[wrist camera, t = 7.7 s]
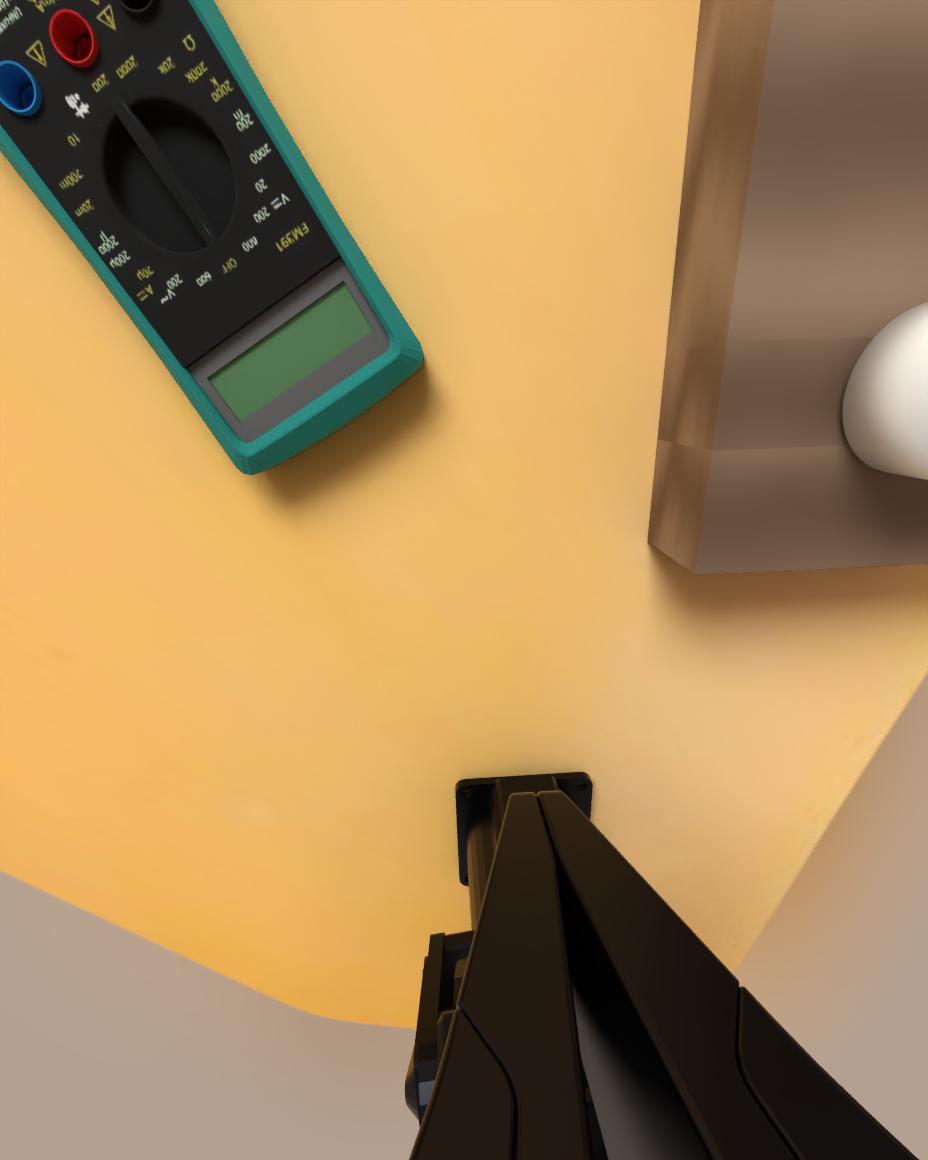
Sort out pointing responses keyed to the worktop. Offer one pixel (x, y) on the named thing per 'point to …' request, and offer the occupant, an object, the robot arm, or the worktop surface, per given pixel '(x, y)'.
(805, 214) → the brown wooden board
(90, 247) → the digital multimeter
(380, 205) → the worktop surface
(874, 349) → the knob
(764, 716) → the worktop surface
